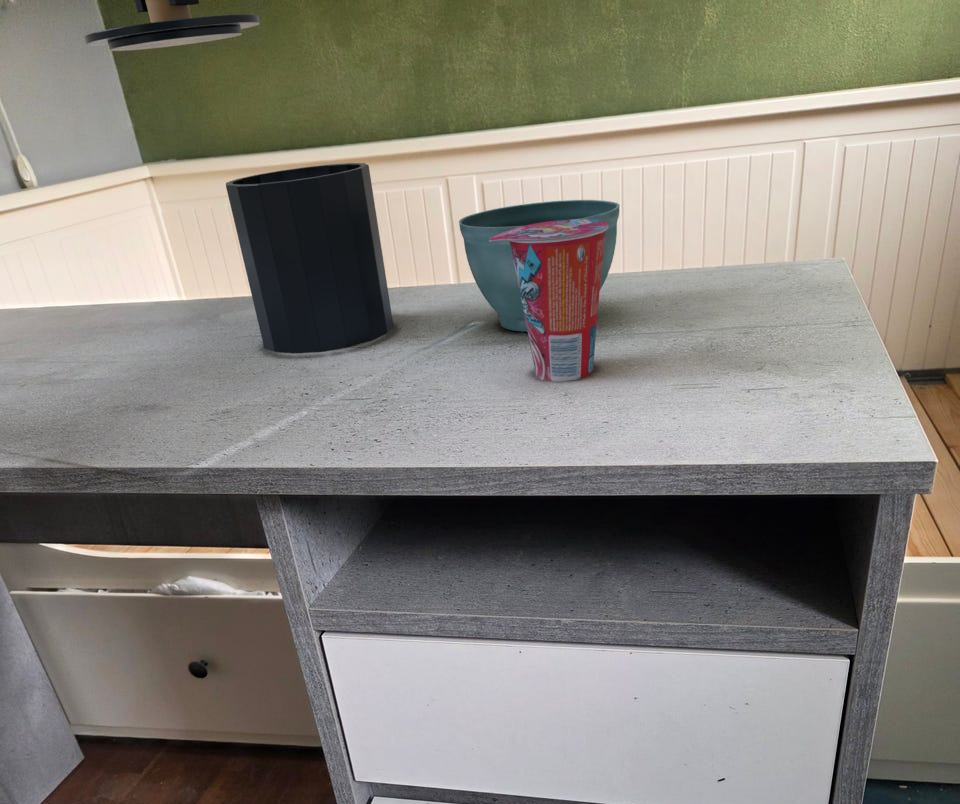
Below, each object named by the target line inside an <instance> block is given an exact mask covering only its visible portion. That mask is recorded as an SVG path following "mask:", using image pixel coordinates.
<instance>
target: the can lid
mask: <svg viewBox="0 0 960 804" xmlns="http://www.w3.org/2000/svg"><path fill="white" fill-rule="evenodd" d="M145 1H146V5H147V9H148V12H147V13H148V17H149V20H150V22H145V23H141V24H140V23H139V24H133V25H126V26H121V27H114V28H110V29H104V30H103V29H102V30H99V31H95V32H91V33H88V34H85V35H84V40H85V44H86V45H87V46H90V47H91V46H93V47H95V46H96V47H98V46H99V47H102V46H104V47H105V46H108V48H109V50H110V51H111V52H124V51H125V52H126V51H137V50H138V51H139V50H150V49H159V48H160V49H161V48H169V47H176V46H185V45H192V44H200V43H205V42H207V43H208V42H213V41H214V42H215V41H219V40H224V39H231V38H235V37H239V36H242V35H243V29H244V30H245V29H249V28H254V27H256V26H259V25H260V24H261V20H260V16H259V15H258V14H251V13H244V14H243V13H241V14H240V13H238V14H220V15H208V16H207V15H206V16H197V17H196V16H195V17H192V13H191V9H190V5H171V6H170V2H169V0H145Z"/></svg>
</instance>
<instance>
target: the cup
mask: <svg viewBox="0 0 960 804" xmlns="http://www.w3.org/2000/svg"><path fill="white" fill-rule="evenodd" d="M607 229H608V222H606V221H603V220H596V219H572V220H558V221H549V222H542V223H536V224H530V225H526V226H522V227H518V228H515V229H512V230H509V231H506V232H503V233H500V234H498V235H495V236H493V237H492V238H490V240H489V241H496V240H509V241H510V246H511V251H512V256H513V261H514V266H515V271H516V276H517V281H518V286H519V291H520V296H521V301H522V306H523V311H524V316H525V321H526V326H527V331H528V332H527V336H528V342H529V346H530V352H531V357H532V363H533V365H534V366H533V368H534V372H535V377H536V378H538V379H539V380H542V381H546V382H556V383H557V382H570V381H575V380H579V379H583V378H586V377H588V376H590V375H591V374H592V373H593V372H594V361H595V351H596V337H597V327H598V315H599V303H600V294H601V293H600V292H601V290H600V283H601V273H602V263H603V253H604V243H605V232H606V230H607Z"/></svg>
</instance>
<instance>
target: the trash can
mask: <svg viewBox="0 0 960 804" xmlns="http://www.w3.org/2000/svg"><path fill="white" fill-rule="evenodd" d="M371 177H372V176H371V172H370V165H369V164H367V163H366V162H345V163H333V164H332V163H329V164H321V165H312V166H303V167H297V168H289V169H282V170H275V171H269V172H264V173H258V174H253V175H249V176H244V177H240V178H236V179H232V180H229V181H227V182H226V183H225V188H226V192H227V196H228V201H229V204H230V209H231V213H232V218H233V221H234V227H235V230H236V235H237V238H238V244H239V247H240V252H241V256H242V260H243V264H244V268H245V273H246V276H247V282H248V286H249V289H250V294H251V298H252V302H253V303H252V304H253V308H254V311H255V314H256V319H257V324H258V327H259V332H260V336H261V340H262V344H263V345H262V346H263V349H266V350H268V351H271V352H273V353H280V354H292V355H293V354H296V355H297V354H312V353H313V354H314V353H324V352H329V351H335V350H340V349H347V348H351V347H354V346H358V345H362V344H365V343H369V342H373V341H374V340H377V339H379V338H381V337H383V336H385V335H387V334H388V333H389V332H390V331H391V330H392V329H393V328H394V320H393V319H394V318H393V312H392V307H391V300H390V293H389V287H388V281H387V276H386V275H387V274H386V268H385V262H384V256H383V250H382V249H383V248H382V242H381V237H380V229H379V224H378V223H379V222H378V217H377V210H376V204H375V197H374V191H373V185H372V178H371Z"/></svg>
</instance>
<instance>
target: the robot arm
mask: <svg viewBox="0 0 960 804" xmlns="http://www.w3.org/2000/svg"><path fill="white" fill-rule="evenodd" d="M169 2H170V6H171V5H189V6H193V5H199V4H200V1H199V0H169ZM134 3H135V7H136V11H137V13H148V9H147V5H146V1H145V0H134Z"/></svg>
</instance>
